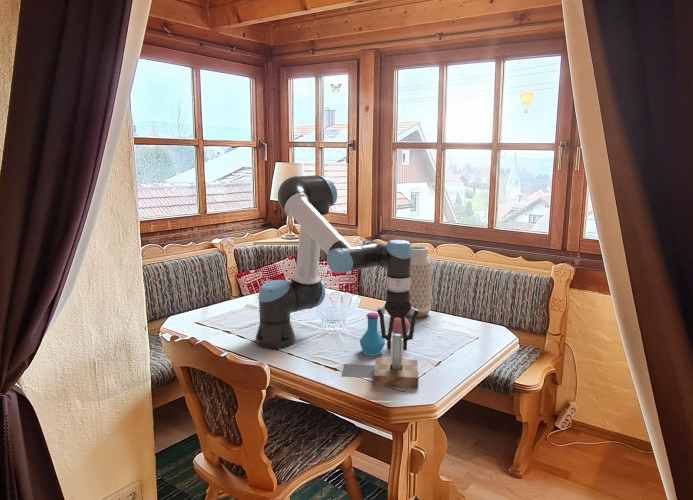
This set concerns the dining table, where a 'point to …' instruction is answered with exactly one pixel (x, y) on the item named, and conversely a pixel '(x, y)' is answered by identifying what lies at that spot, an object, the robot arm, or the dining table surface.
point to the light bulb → (399, 326)
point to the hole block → (396, 374)
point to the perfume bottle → (372, 337)
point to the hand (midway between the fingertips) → (396, 358)
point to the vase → (420, 281)
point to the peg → (396, 351)
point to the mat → (358, 370)
